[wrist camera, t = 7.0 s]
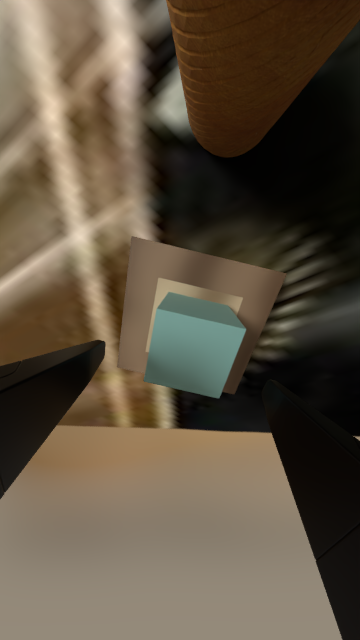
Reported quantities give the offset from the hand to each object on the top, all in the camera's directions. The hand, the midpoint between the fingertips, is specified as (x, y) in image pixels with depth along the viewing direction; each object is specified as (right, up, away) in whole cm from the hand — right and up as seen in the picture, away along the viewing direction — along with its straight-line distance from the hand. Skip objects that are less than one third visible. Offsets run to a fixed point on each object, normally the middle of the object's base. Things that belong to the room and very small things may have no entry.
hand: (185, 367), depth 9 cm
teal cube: (+1, +2, +6) cm, 6 cm away
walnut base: (+1, +3, +8) cm, 9 cm away
